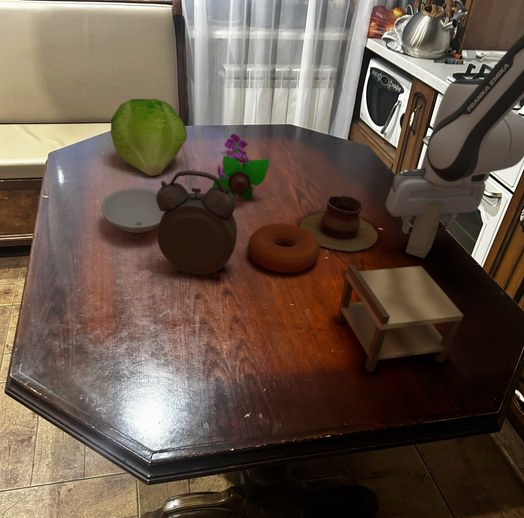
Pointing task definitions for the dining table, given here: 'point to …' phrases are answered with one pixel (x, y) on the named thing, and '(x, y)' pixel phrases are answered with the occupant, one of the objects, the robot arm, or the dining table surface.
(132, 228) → the dish
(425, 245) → the cosmetic box
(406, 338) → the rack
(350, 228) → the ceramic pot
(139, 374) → the dining table surface
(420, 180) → the robot arm
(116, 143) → the lettuce
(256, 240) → the donut
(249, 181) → the potted plant
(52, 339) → the dining table surface
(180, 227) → the alarm clock
